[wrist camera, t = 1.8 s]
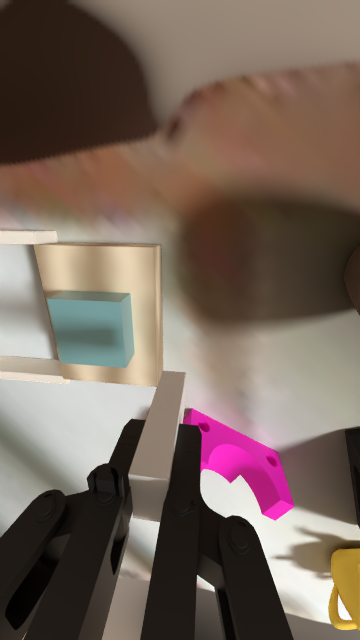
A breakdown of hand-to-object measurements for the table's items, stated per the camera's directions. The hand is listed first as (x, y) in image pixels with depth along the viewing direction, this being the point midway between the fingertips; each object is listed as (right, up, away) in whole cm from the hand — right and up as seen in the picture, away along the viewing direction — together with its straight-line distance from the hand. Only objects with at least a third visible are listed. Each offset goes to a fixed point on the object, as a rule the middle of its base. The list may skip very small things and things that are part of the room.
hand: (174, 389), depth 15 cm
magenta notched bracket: (+7, -14, +21) cm, 26 cm away
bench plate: (-8, +6, +14) cm, 17 cm away
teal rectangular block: (-8, +4, +10) cm, 14 cm away
